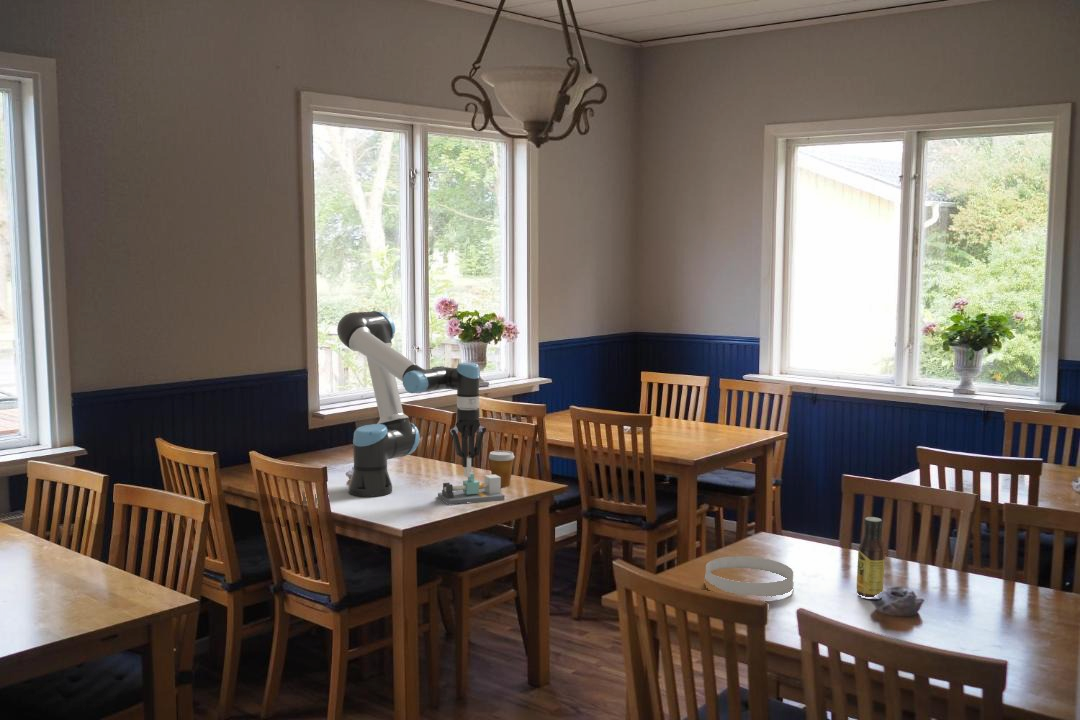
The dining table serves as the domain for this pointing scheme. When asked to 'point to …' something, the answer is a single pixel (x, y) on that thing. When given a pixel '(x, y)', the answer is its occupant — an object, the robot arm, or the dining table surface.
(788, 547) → the dining table surface
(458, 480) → the dining table surface
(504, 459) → the disposable coffee cup
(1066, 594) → the dining table surface
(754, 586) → the ring
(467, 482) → the sleeve
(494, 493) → the cable board
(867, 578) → the sauce bottle
